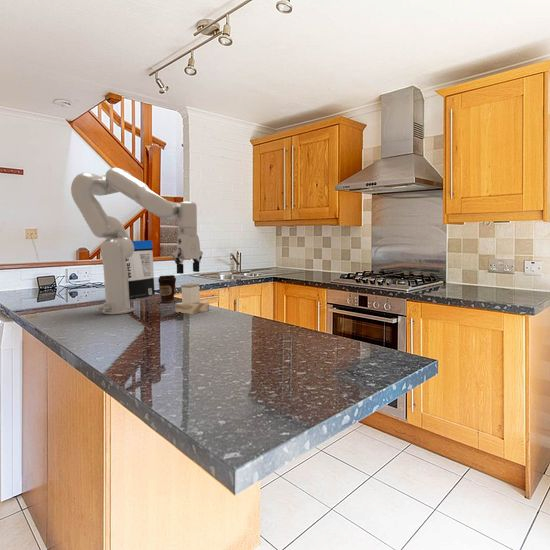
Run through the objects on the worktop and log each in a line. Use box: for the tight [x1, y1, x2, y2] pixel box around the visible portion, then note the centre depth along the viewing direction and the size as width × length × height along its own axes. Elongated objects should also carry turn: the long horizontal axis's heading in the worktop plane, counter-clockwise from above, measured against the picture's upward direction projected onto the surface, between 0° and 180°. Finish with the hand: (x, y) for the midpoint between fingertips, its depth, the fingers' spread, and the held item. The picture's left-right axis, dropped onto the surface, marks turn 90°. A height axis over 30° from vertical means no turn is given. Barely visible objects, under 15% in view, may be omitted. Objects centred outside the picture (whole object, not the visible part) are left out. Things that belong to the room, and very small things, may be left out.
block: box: [174, 300, 210, 315], centre depth 176 cm, size 10×10×4 cm
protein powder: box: [125, 239, 156, 300], centre depth 219 cm, size 10×24×30 cm, turn 148°
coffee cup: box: [157, 274, 177, 303], centre depth 202 cm, size 9×8×13 cm
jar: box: [180, 283, 201, 304], centre depth 175 cm, size 5×5×8 cm
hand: (188, 272), depth 174 cm, fingers open, 9 cm apart
